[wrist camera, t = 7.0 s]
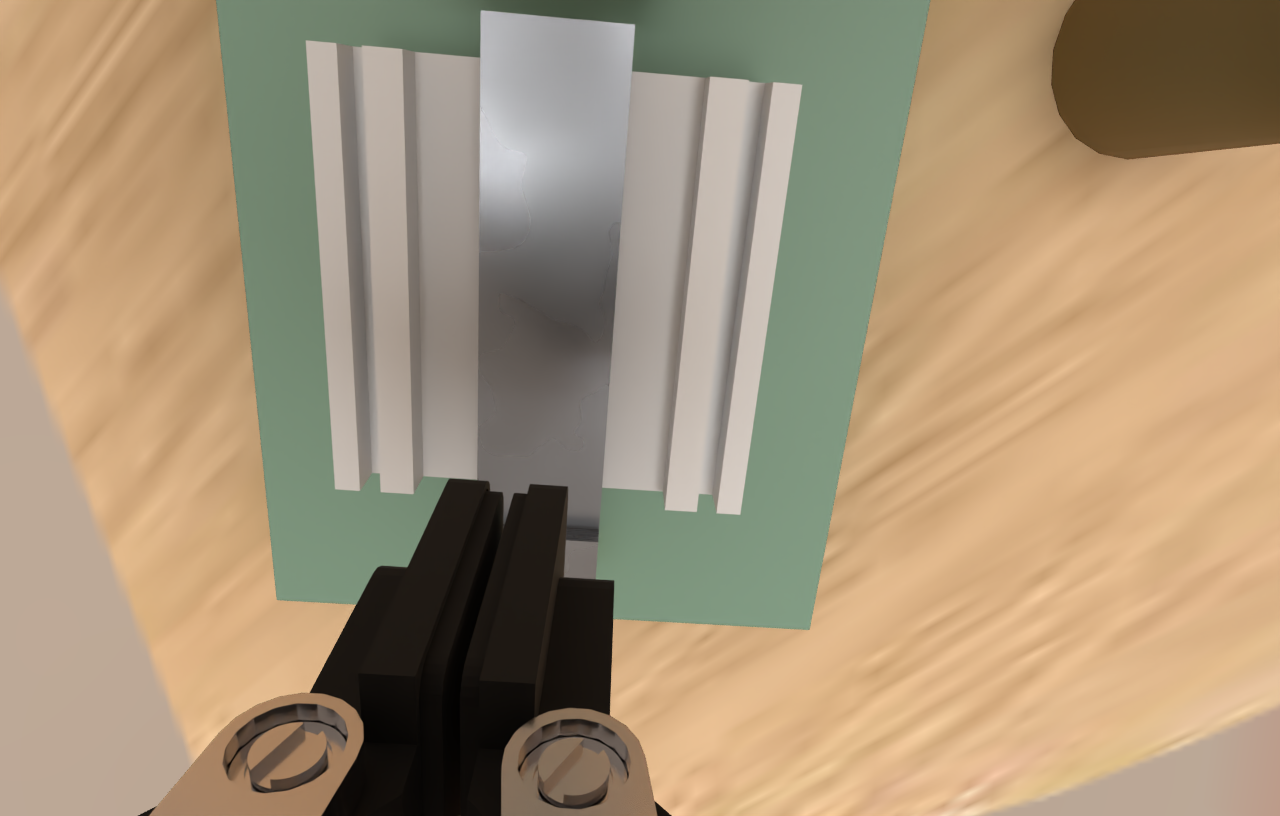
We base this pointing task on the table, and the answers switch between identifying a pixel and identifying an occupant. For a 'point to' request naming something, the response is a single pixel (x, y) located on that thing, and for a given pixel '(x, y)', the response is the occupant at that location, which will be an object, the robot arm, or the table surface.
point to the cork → (1169, 75)
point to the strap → (550, 257)
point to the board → (798, 322)
